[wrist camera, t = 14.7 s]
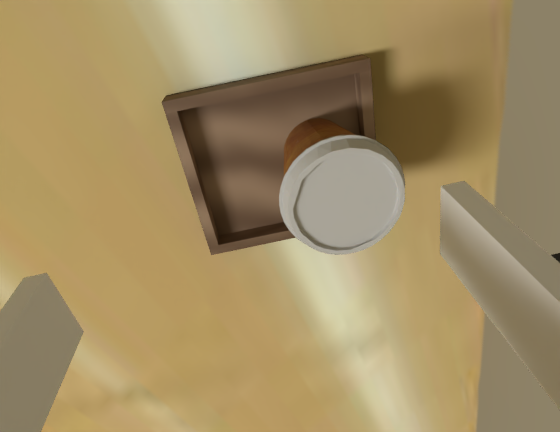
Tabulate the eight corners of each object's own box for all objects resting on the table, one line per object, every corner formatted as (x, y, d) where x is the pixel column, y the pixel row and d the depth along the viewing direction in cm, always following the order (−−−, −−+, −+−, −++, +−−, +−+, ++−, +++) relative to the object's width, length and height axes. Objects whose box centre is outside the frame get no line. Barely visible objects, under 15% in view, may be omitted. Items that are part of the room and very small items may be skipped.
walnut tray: (166, 95, 36) (161, 102, 34) (362, 54, 36) (370, 58, 34) (212, 242, 44) (211, 255, 42) (373, 208, 44) (381, 219, 42)
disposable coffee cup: (318, 78, 36) (354, 110, 26) (382, 147, 40) (436, 200, 30) (246, 152, 39) (252, 210, 28) (313, 210, 43) (340, 280, 32)
